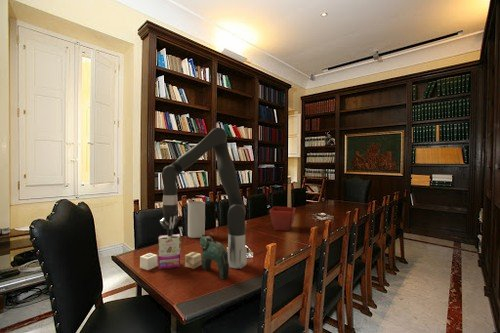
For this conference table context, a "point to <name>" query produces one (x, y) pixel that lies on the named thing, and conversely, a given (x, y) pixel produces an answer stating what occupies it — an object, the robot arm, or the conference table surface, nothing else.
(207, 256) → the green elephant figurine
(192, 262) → the maple block one
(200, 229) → the cylinder vase
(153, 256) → the white block two
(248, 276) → the conference table surface
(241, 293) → the conference table surface
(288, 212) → the plant pot
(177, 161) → the robot arm
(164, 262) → the candy bar box
